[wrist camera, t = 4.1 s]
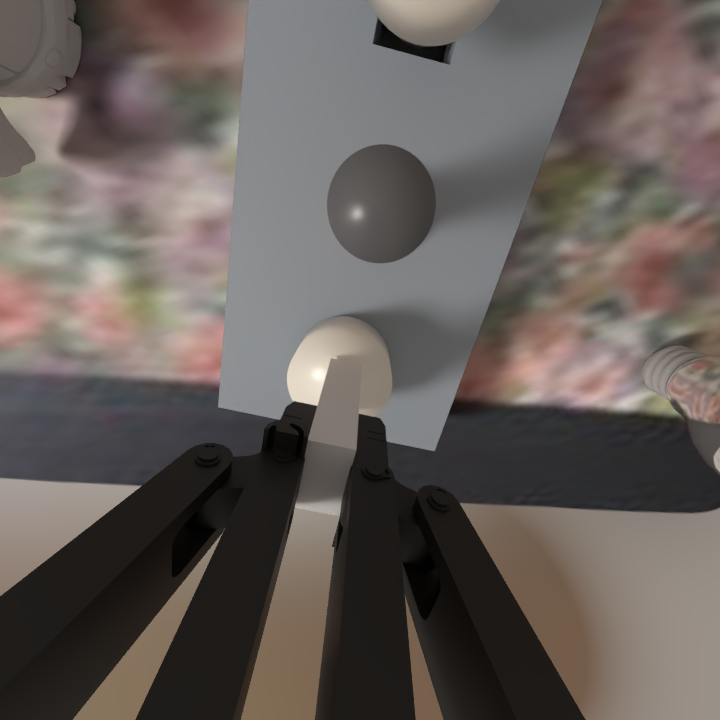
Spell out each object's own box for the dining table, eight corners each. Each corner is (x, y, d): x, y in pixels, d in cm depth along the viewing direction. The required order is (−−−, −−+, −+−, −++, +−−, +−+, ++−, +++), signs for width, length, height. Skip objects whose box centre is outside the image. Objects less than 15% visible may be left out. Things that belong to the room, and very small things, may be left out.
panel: (240, 379, 25) (218, 407, 21) (291, -132, 15) (266, -244, 12) (425, 418, 26) (434, 451, 22) (584, -45, 16) (648, -123, 12)
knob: (304, 364, 24) (280, 417, 18) (316, 292, 22) (295, 322, 16) (376, 379, 25) (378, 437, 18) (394, 309, 23) (404, 346, 16)
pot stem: (329, 244, 18) (303, 260, 11) (345, 156, 16) (326, 110, 9) (405, 262, 18) (426, 288, 11) (427, 177, 16) (469, 147, 9)
